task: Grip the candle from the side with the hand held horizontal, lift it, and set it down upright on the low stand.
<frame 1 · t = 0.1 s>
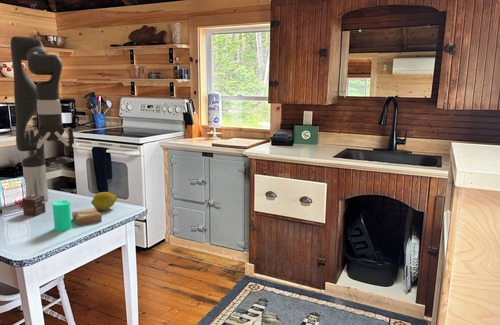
hand: (53, 157, 138), 29 cm above the table, tool pointing down, fingers open, 8 cm apart
box: (34, 214, 163), on the table
lemon: (104, 209, 170), on the table
stand: (87, 220, 157), on the table
candle: (63, 228, 148), on the table
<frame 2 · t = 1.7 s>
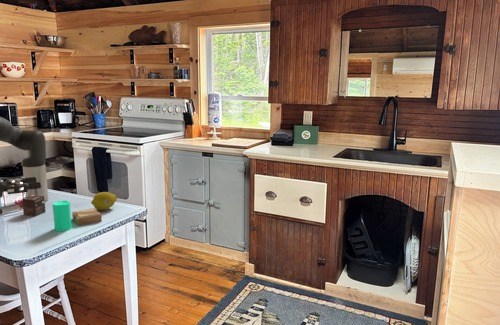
hand: (38, 182, 139), 20 cm above the table, tool horizontal, fingers open, 8 cm apart
nothing on the table moved.
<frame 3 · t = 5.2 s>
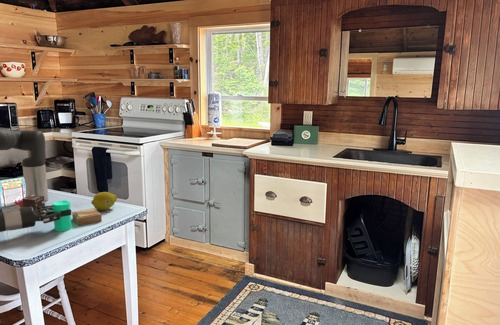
hand: (69, 210, 148), 7 cm above the table, tool horizontal, fingers closed on candle, 4 cm apart
candle: (63, 228, 148), on the table, touching gripper
everything else where it was.
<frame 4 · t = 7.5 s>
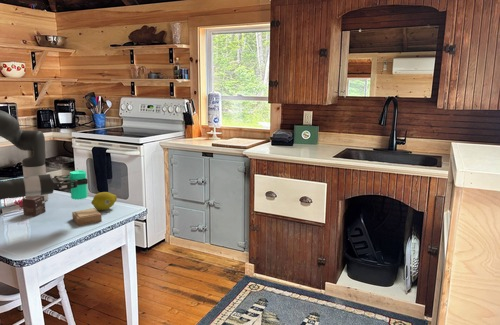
hand: (85, 179, 153), 18 cm above the table, tool horizontal, fingers closed on candle, 4 cm apart
candle: (79, 197, 153), point 10 cm above the table, touching gripper
everything else where it was.
when the fingers open (11 cm above the table, at t = 9.8 s): candle stays where it is, resting on stand.
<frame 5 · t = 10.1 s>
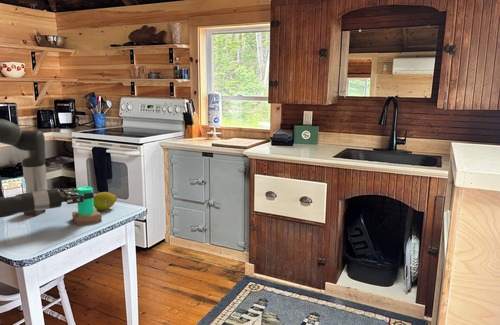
hand: (90, 192, 156), 11 cm above the table, tool horizontal, fingers open, 7 cm apart
candle: (86, 213, 156), point 3 cm above the table, touching stand
everything else where it was.
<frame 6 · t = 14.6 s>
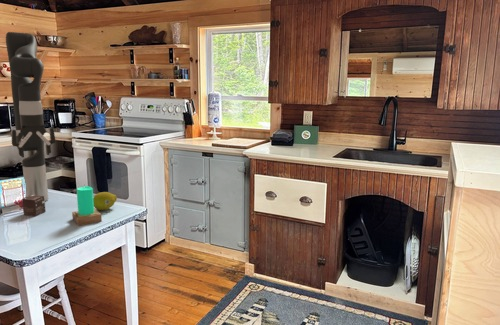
hand: (35, 155, 144), 28 cm above the table, tool pointing down, fingers open, 8 cm apart
nothing on the table moved.
at the end: candle inside the target area (0.1 cm from its centre), point 3.1 cm above the table; candle tilted 0°; the gripper is holding nothing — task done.
